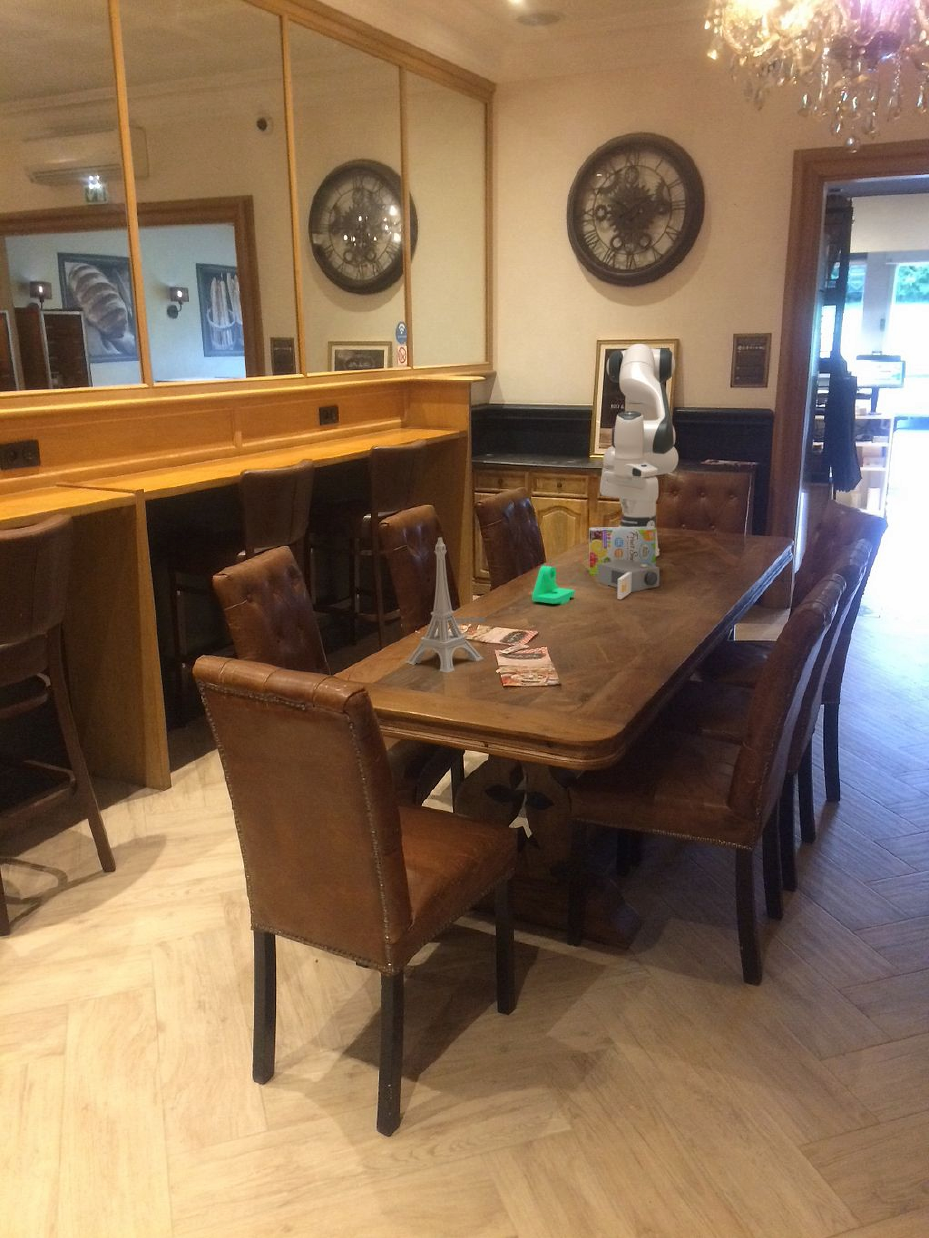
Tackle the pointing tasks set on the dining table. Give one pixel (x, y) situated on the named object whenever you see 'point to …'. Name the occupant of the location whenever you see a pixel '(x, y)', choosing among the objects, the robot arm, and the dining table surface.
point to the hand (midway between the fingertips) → (627, 513)
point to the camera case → (641, 573)
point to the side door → (624, 585)
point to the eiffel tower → (443, 623)
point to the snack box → (621, 545)
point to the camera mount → (550, 588)
